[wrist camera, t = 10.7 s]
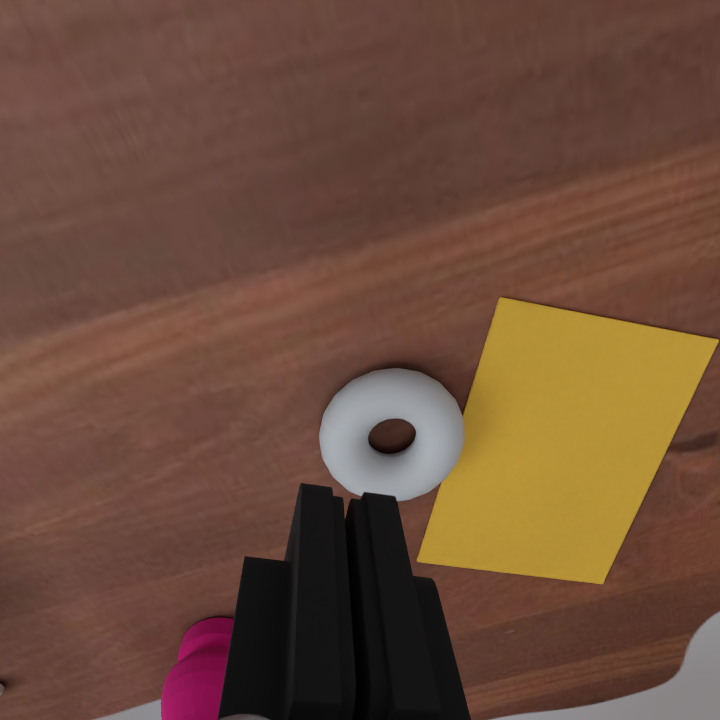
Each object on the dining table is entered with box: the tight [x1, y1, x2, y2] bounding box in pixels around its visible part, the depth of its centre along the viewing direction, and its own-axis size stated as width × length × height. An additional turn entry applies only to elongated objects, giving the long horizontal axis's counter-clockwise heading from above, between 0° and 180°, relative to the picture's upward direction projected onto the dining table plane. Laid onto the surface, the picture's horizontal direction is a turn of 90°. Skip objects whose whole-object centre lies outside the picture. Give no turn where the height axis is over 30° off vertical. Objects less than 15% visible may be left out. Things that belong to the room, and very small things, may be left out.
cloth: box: [417, 297, 719, 584], centre depth 42 cm, size 22×16×1 cm
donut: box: [319, 368, 465, 501], centre depth 39 cm, size 10×3×10 cm
